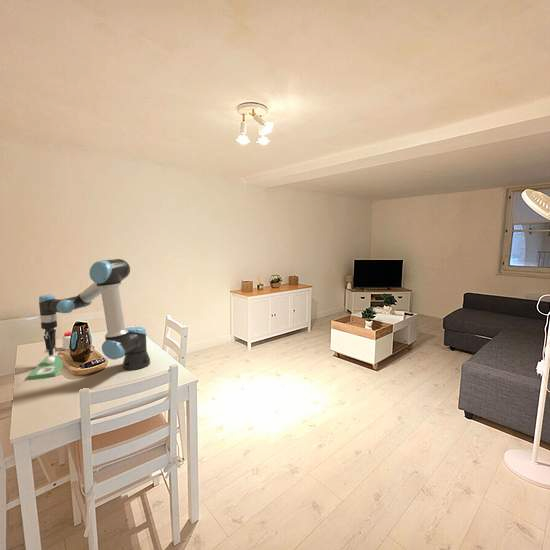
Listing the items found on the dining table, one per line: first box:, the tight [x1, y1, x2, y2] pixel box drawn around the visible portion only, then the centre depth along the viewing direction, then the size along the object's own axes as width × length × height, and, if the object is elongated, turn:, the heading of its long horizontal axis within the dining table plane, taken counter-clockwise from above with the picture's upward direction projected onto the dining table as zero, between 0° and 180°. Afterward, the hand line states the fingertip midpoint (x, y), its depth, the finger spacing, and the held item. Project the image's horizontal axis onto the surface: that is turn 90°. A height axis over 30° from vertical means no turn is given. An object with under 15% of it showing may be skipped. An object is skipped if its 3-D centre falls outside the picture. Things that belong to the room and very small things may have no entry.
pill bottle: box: [61, 331, 72, 350], centre depth 207 cm, size 8×8×11 cm
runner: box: [28, 354, 64, 381], centre depth 177 cm, size 12×28×2 cm, turn 21°
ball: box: [46, 356, 55, 364], centre depth 177 cm, size 4×4×4 cm
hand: (52, 359), depth 179 cm, fingers closed
